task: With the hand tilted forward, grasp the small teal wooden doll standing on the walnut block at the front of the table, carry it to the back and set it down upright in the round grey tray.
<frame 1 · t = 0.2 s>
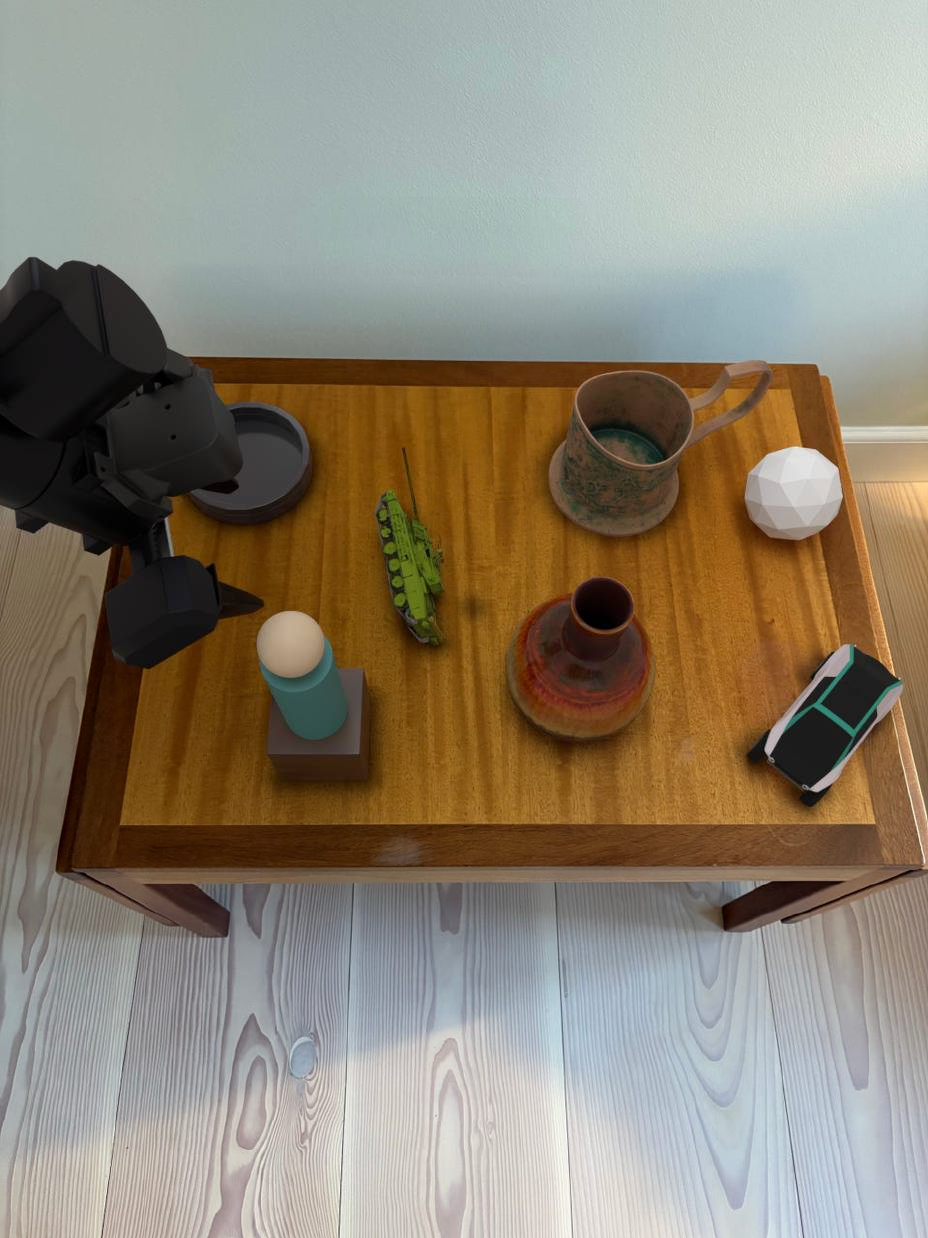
hand: (246, 546, 59), 15 cm above the table, tool tilted 35°, fingers open, 9 cm apart
toy tank: (423, 549, 76), on the table
mug: (643, 473, 80), on the table
vase: (571, 690, 71), on the table
wooden doll: (316, 710, 62), point 7 cm above the table, touching walnut block
toy car: (814, 732, 70), on the table
walnut block: (327, 740, 69), on the table
geometric ball: (781, 537, 74), point 3 cm above the table
round grey tray: (249, 470, 79), on the table
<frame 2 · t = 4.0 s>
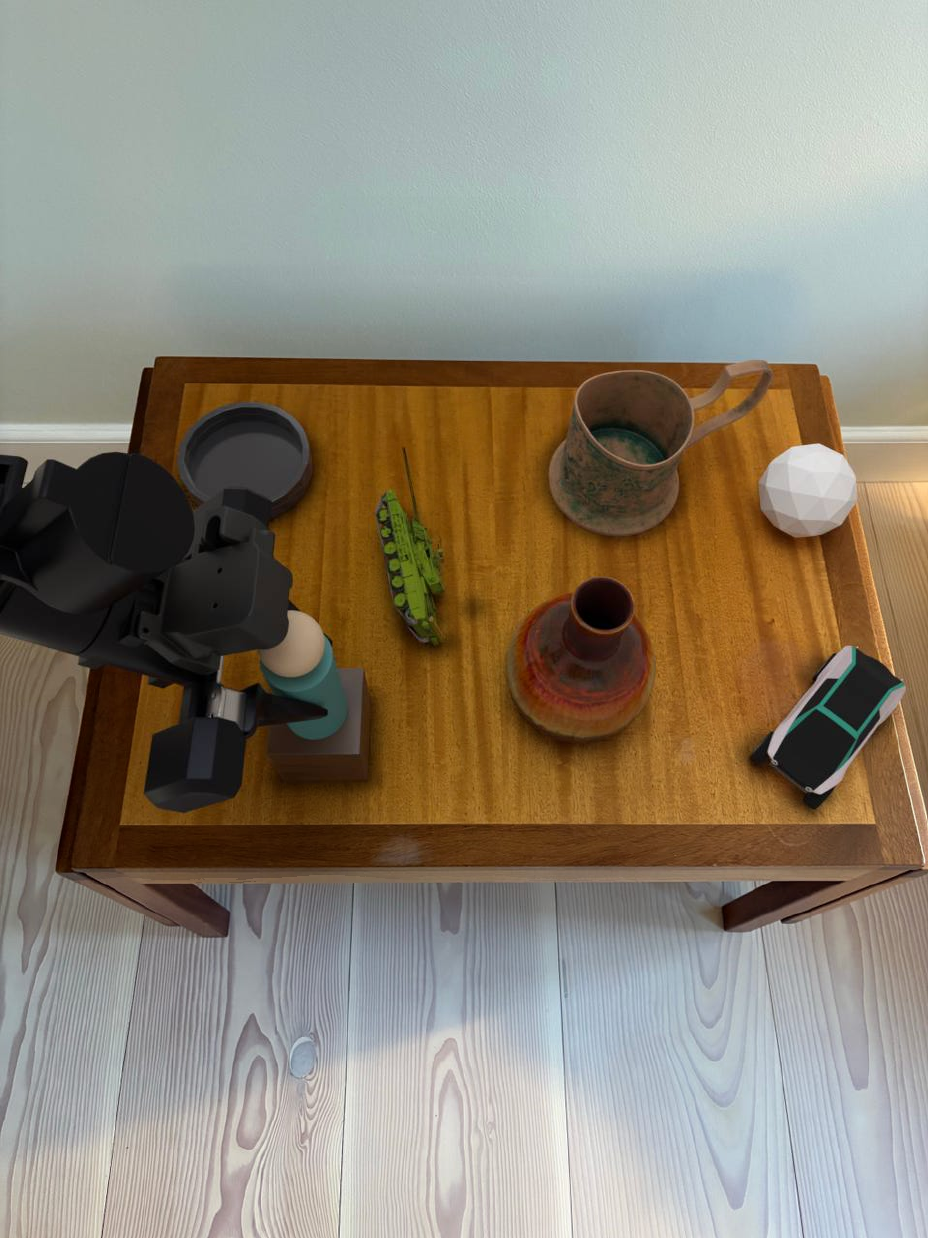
hand: (326, 680, 57), 13 cm above the table, tool tilted 45°, fingers closed on wooden doll, 4 cm apart
wooden doll: (316, 709, 62), point 7 cm above the table, touching gripper, walnut block
geometric ball: (797, 530, 74), point 4 cm above the table
everything else where it was.
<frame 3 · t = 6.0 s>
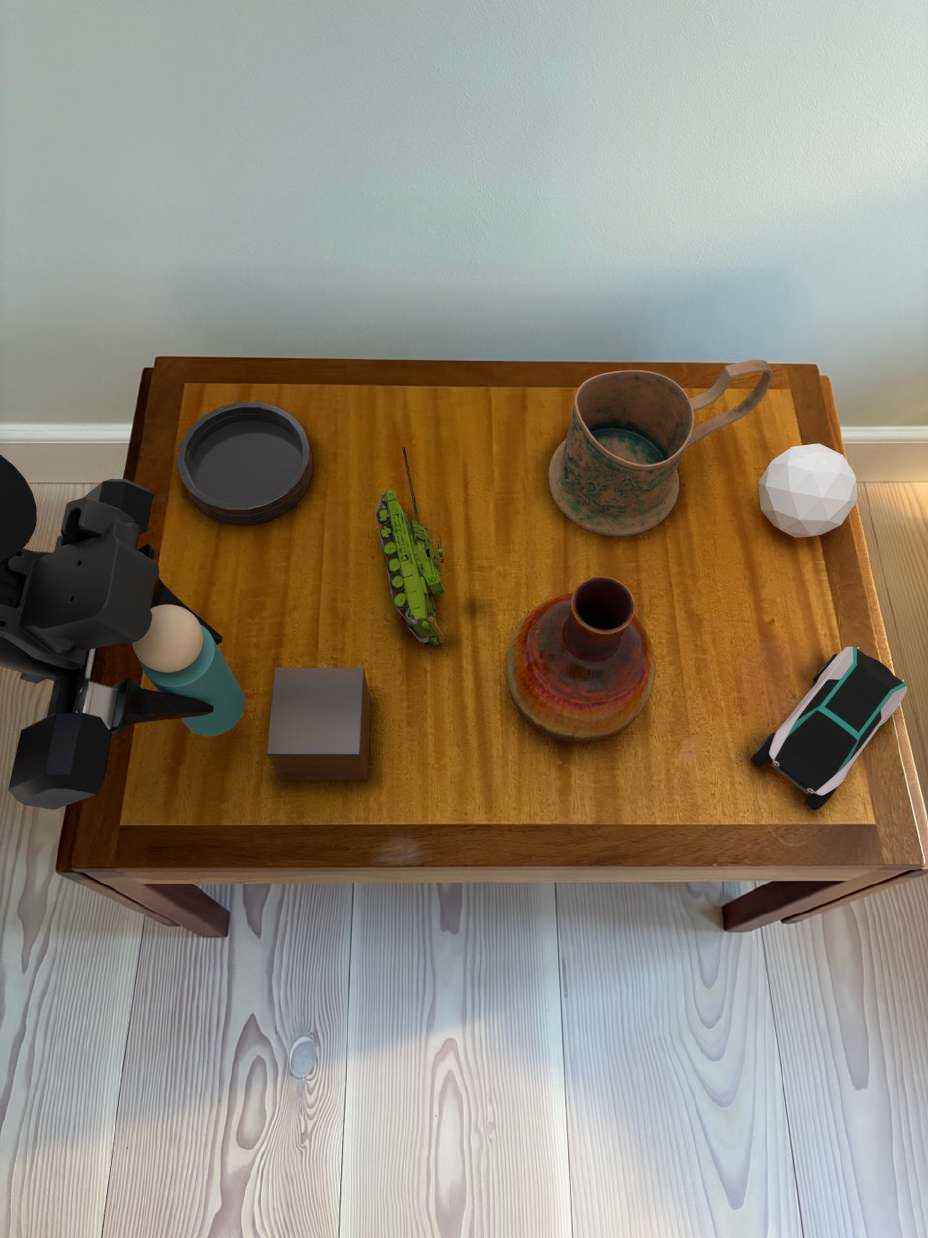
hand: (214, 676, 57), 13 cm above the table, tool tilted 45°, fingers closed on wooden doll, 4 cm apart
wooden doll: (213, 706, 62), point 8 cm above the table, touching gripper
everything else where it was.
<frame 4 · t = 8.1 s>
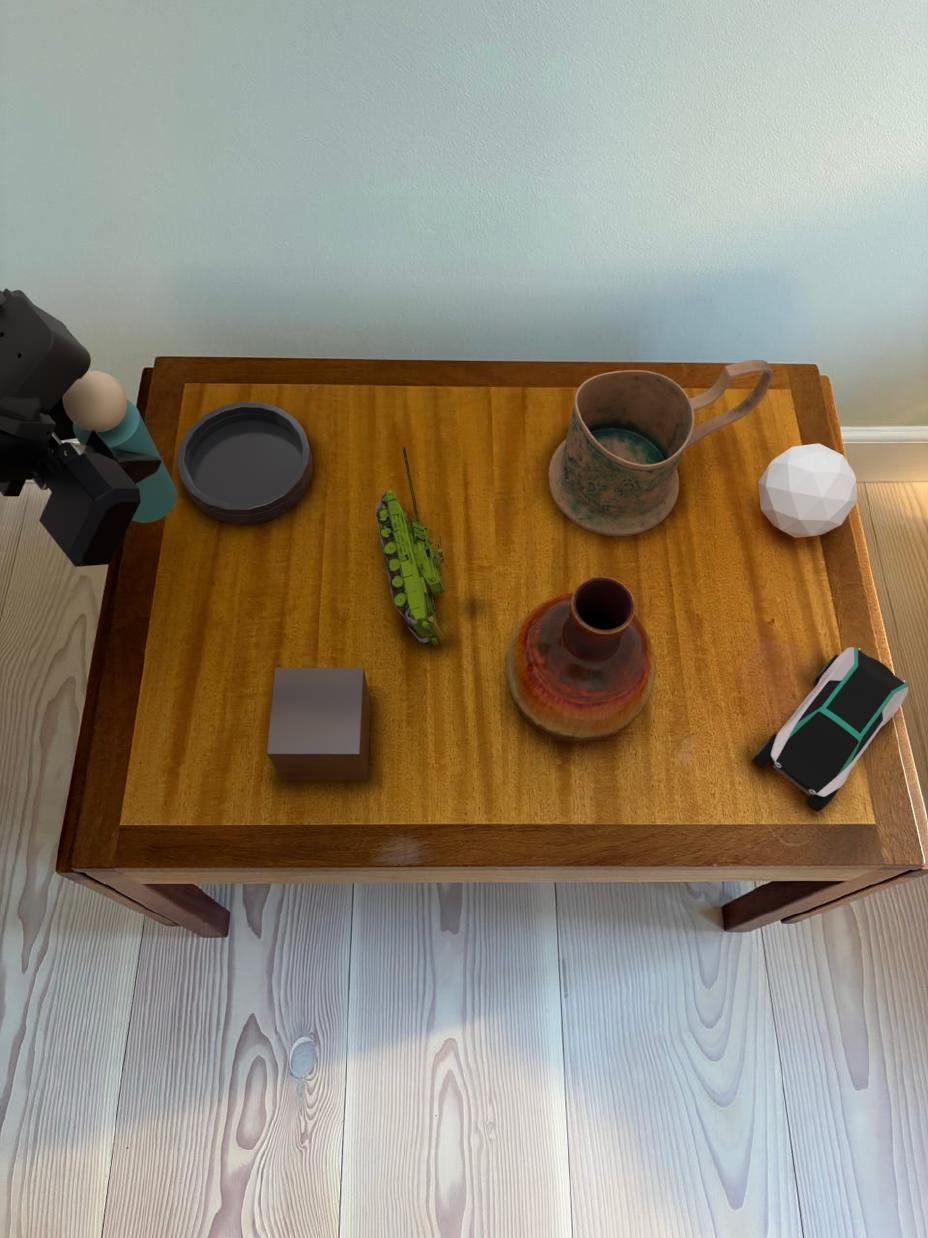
hand: (140, 444, 64), 14 cm above the table, tool tilted 45°, fingers closed on wooden doll, 4 cm apart
wooden doll: (148, 498, 69), point 8 cm above the table, touching gripper
everything else where it was.
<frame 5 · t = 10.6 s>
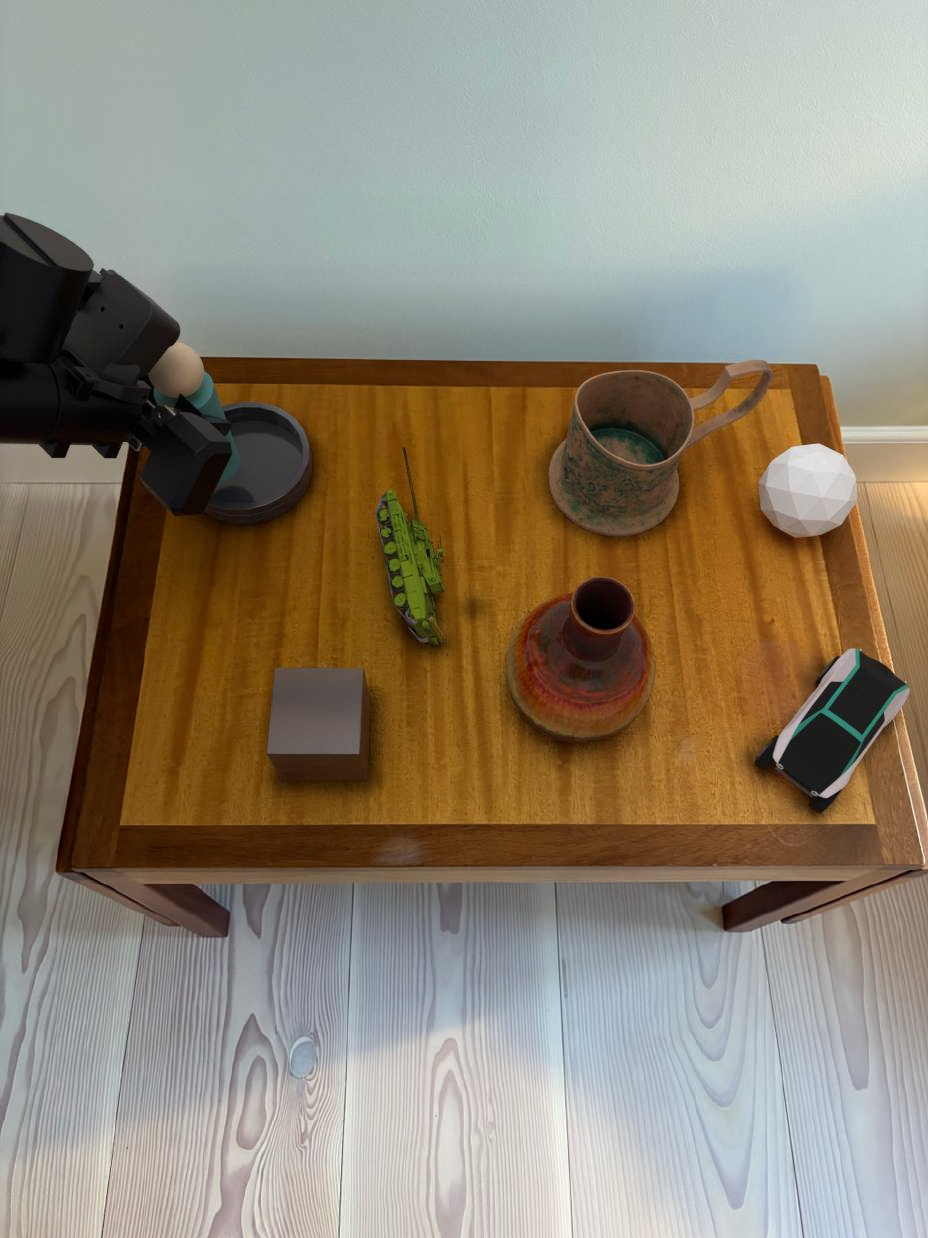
hand: (210, 410, 70), 10 cm above the table, tool tilted 45°, fingers closed on wooden doll, 4 cm apart
wooden doll: (213, 463, 75), point 4 cm above the table, touching gripper
everything else where it was.
when the fingers open (6 cm above the table, at t = 12.4 s): wooden doll stays where it is, resting on round grey tray.
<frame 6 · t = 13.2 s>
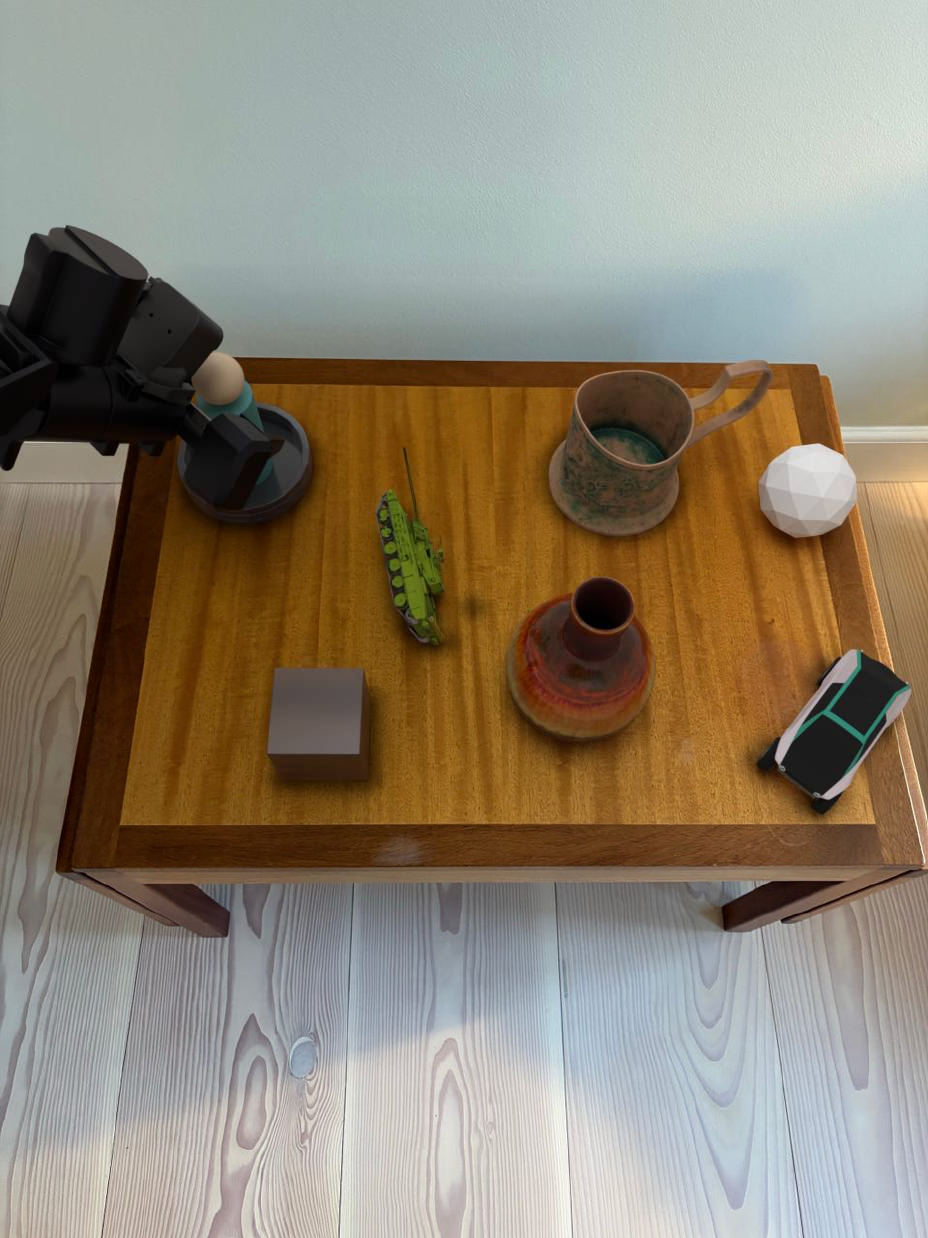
hand: (245, 411, 73), 7 cm above the table, tool tilted 45°, fingers open, 9 cm apart
wooden doll: (247, 466, 79), point 1 cm above the table, touching round grey tray
everything else where it was.
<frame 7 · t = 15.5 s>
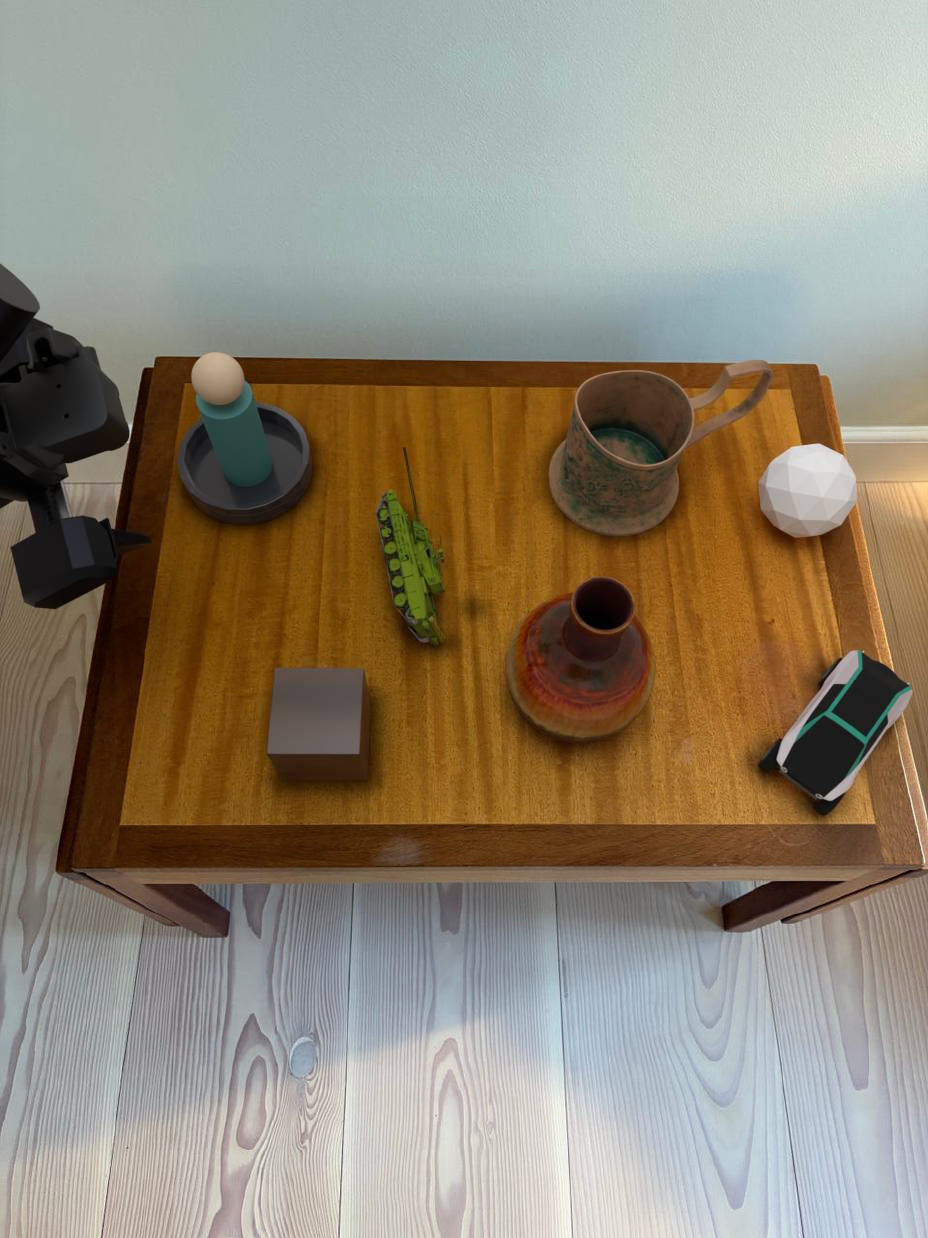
hand: (131, 485, 66), 11 cm above the table, tool tilted 30°, fingers open, 9 cm apart
nothing on the table moved.
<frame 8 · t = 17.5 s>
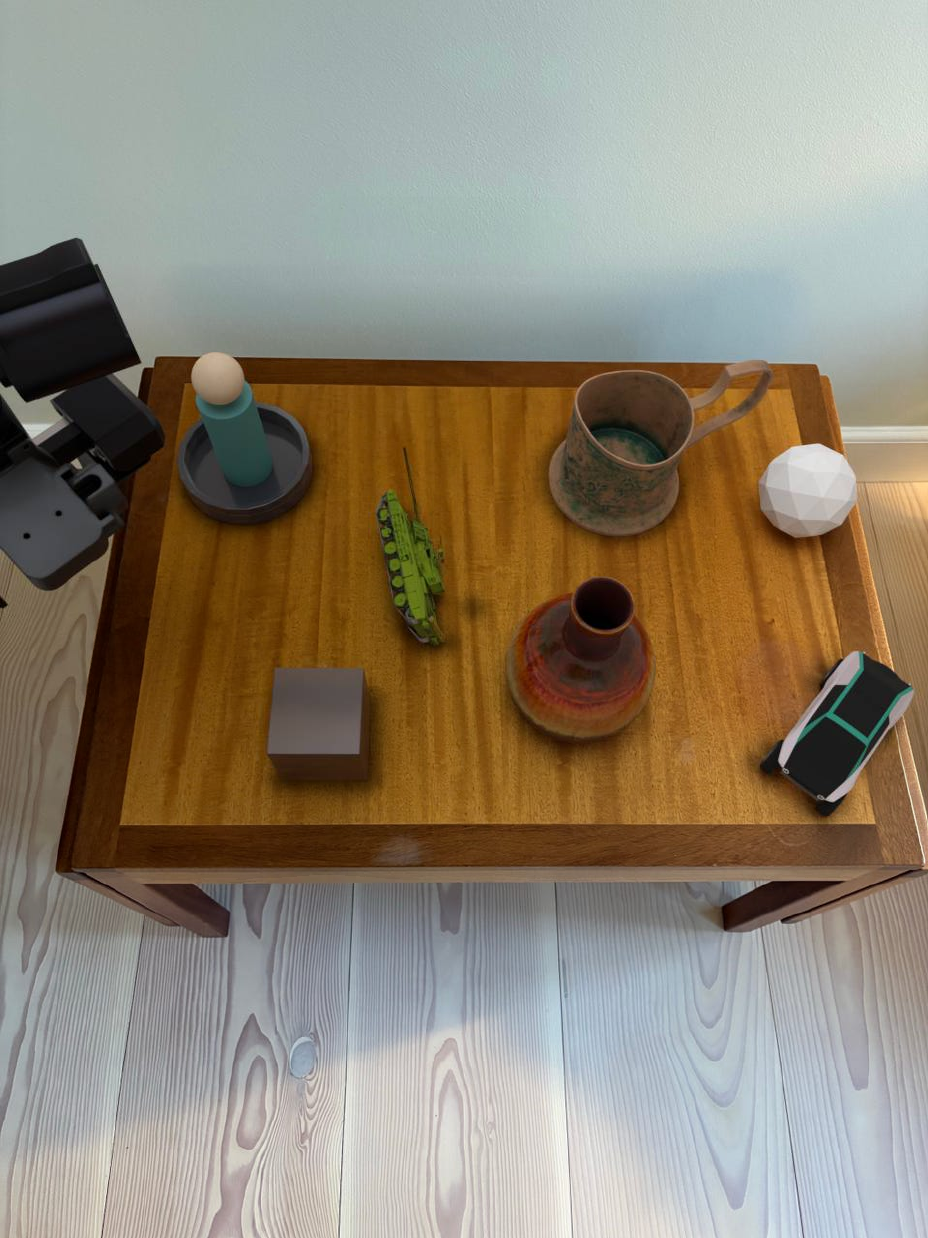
hand: (61, 559, 60), 13 cm above the table, tool pointing down, fingers open, 9 cm apart
at the end: wooden doll inside the target area in the round grey tray (0.0 cm from its centre), point 0.6 cm above the round grey tray's base; wooden doll tilted 0°; the gripper is holding nothing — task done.
